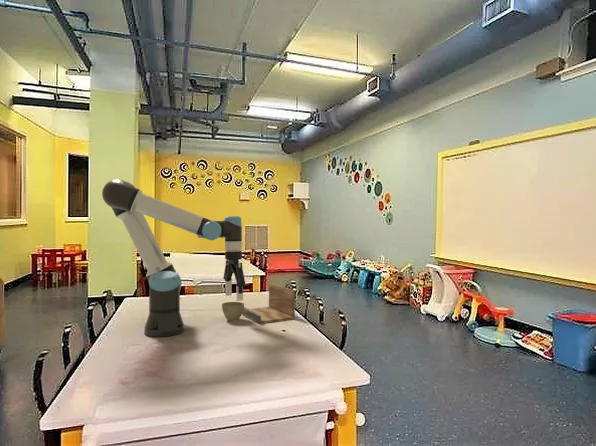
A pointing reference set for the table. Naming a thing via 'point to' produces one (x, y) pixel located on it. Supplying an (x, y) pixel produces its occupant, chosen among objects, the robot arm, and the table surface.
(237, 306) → the flower pot
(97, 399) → the table surface
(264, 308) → the brown piece
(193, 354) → the table surface
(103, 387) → the table surface
